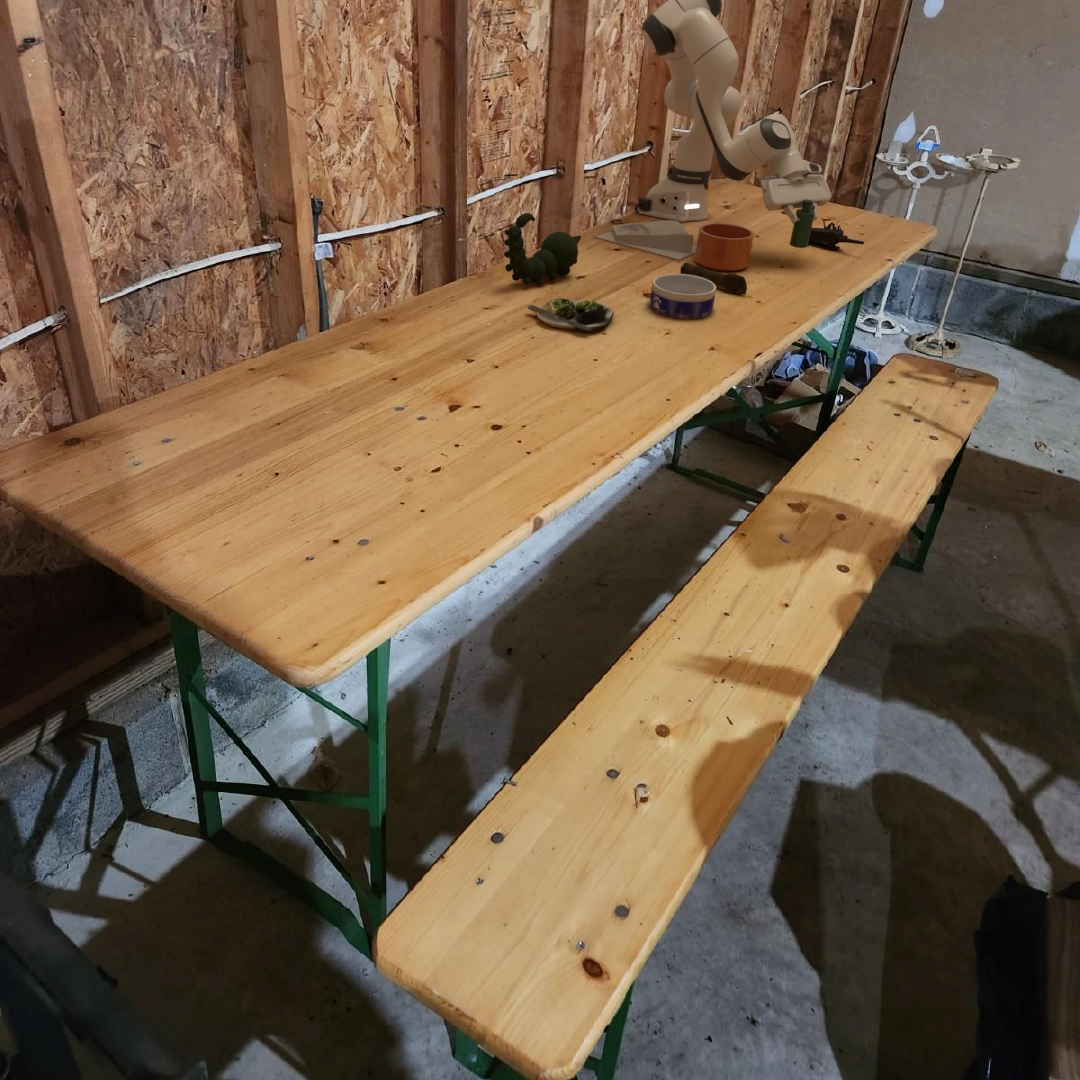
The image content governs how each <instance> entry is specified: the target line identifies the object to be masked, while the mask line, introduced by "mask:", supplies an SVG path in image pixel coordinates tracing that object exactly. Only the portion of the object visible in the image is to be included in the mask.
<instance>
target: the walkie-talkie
mask: <svg viewBox="0 0 1080 1080" xmlns="http://www.w3.org/2000/svg"><path fill="white" fill-rule="evenodd" d="M842 230H843V229H841V230H838V228H836V229H832V228H831V229H827V228H824V227H812V228H811V233H810V237H809V242H808V245H812V246H816V247H819V248H823V249H828V250H833V251H836V250H839V249H840V248H841V247H840V246H838V244H840V243H841V244H842V243H846V244H856V245H861V246H862V245H864V244H865V241H863V240H858V239H853V238H849V237H848V235H844V233H843V231H844V230H843V231H842Z"/></svg>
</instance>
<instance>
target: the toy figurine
mask: <svg viewBox="0 0 1080 1080" xmlns="http://www.w3.org/2000/svg"><path fill="white" fill-rule="evenodd" d="M530 221H531V222H535V221H536V218H535V216H534V214H532V213H529V212H524V213H522V214H520V215H518V217H517V218H516V220H515V224H514V225H513V224H512V225H510V226H509V227H508V229H505V230H504V235H505V236H507V237H508V238H506V239H505V240H504V241H503V244H504V245H505V246H507V247H508V250H506V251H504V253H503V256H504V257H505V258H507V259H508V258H509V263H507V264H506V265H505V267H504V269H505V271H507V272H509V273H510V272H512V274H511V279H512V280H513V281H515V282H517V281H519V280H521V281H522V284H523V285H525V286H529V285H530V284H531V283H535V285H537V286H539V287H541V286H543V285H544V283H545V279H544V278H547V280H548V281H551V282H554V281H556V280H557V279H558V275H559V276H560V277H564V276H568V275H570V272H571V268H572V267H573V266H574V265H576V264H577V263H578V256H579V247H578V244H579V242H580V240H581V239H582V236H581V235H575V236H572V235H570V234H569V233H568V232H565V231H555V232H552V233H550V234H548V235H547V236H546V237H545V238H544V239H543V241H542V243H541V246H540V249H539V250H537V251H536V252H535V253H533V255H532V256H530V257H527V256H526V255H527V253H526V252H527V251H526V249H525V247H524V242H525V241H524V238H523V232H522V229H523V228H524V227H525V226H527V224H528V223H529V222H530Z"/></svg>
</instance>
